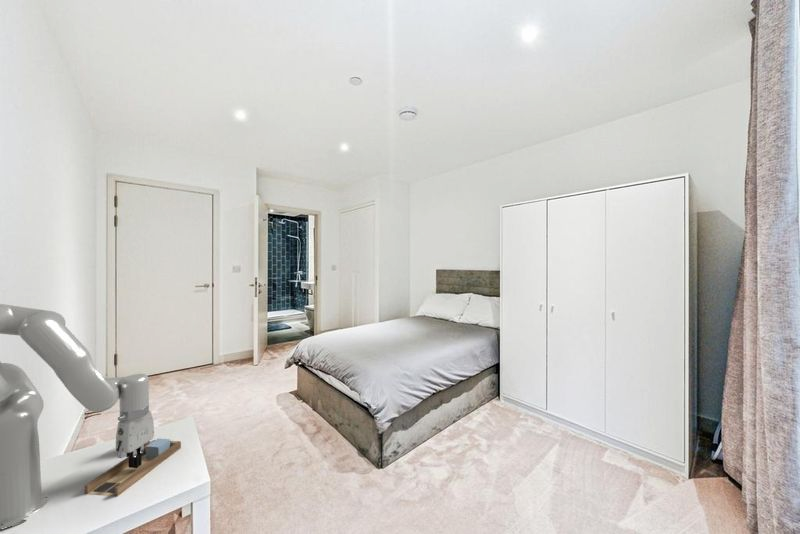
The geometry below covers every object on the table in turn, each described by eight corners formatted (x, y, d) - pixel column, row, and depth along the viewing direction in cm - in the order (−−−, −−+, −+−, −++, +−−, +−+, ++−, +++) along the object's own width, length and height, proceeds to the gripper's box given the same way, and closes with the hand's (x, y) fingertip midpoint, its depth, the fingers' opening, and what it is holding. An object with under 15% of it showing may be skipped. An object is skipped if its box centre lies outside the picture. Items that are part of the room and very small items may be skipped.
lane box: (84, 496, 95) (84, 485, 95) (154, 448, 119) (153, 439, 119) (117, 499, 94) (117, 488, 94) (181, 450, 118) (180, 441, 118)
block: (145, 457, 112) (145, 446, 112) (158, 448, 117) (157, 438, 117) (158, 458, 112) (158, 447, 112) (170, 449, 117) (170, 439, 117)
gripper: (123, 424, 98) (123, 482, 98) (163, 403, 113) (164, 453, 113) (101, 423, 99) (102, 481, 99) (144, 402, 113) (144, 452, 114)
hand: (135, 466), depth 106 cm, fingers closed
